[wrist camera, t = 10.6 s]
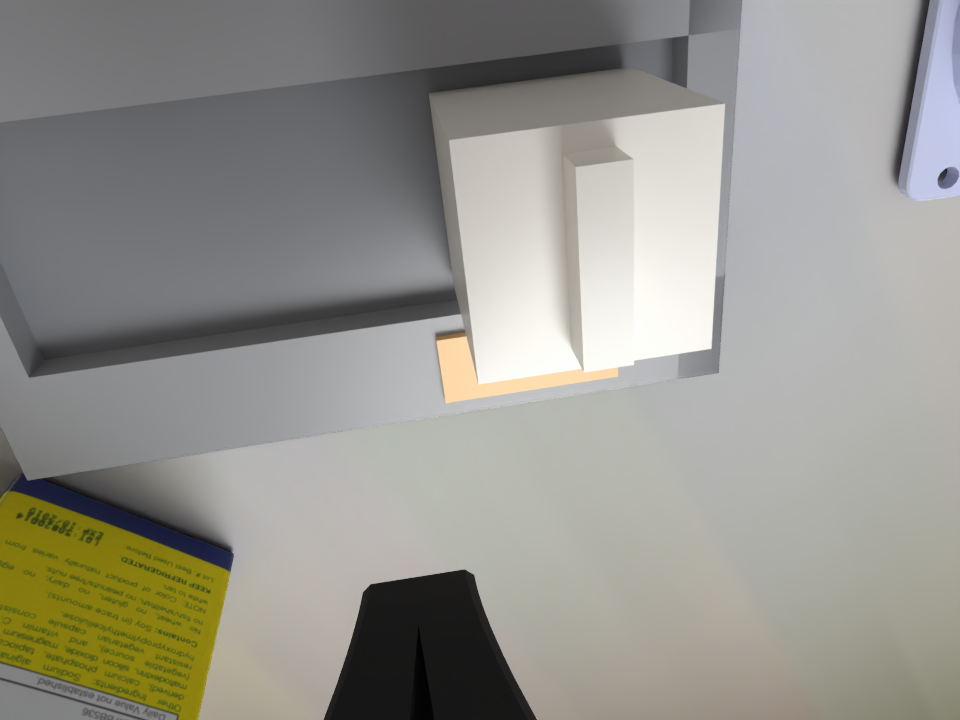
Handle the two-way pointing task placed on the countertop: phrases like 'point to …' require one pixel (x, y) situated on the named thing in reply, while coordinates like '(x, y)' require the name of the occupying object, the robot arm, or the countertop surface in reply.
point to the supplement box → (102, 610)
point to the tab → (580, 219)
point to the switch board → (273, 211)
